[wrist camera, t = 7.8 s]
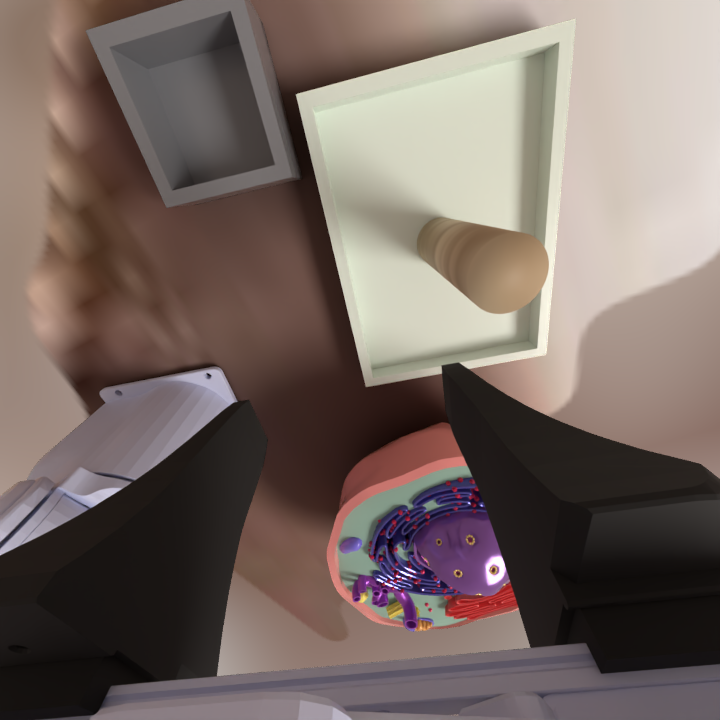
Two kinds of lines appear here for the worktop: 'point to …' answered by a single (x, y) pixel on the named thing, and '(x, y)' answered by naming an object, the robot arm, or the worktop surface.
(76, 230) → the worktop surface
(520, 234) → the dowel
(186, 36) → the grey square box
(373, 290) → the tray
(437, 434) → the cell model
